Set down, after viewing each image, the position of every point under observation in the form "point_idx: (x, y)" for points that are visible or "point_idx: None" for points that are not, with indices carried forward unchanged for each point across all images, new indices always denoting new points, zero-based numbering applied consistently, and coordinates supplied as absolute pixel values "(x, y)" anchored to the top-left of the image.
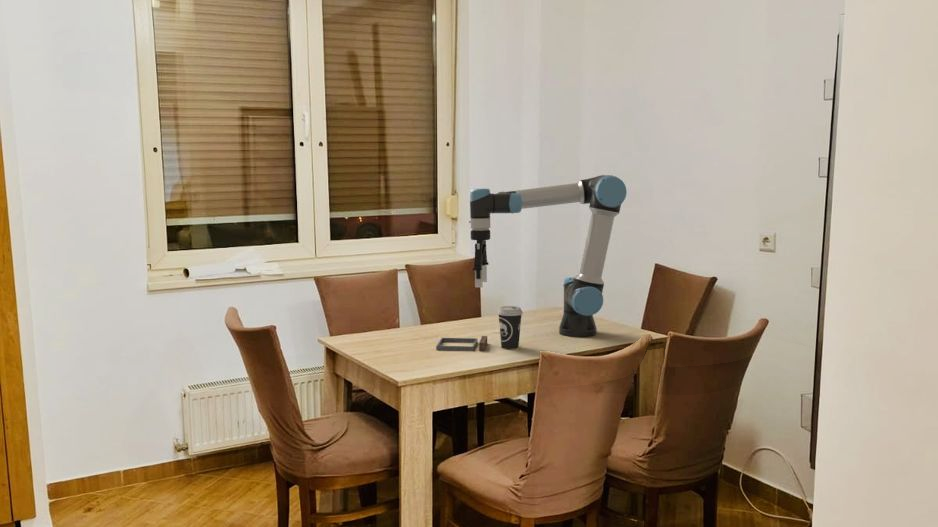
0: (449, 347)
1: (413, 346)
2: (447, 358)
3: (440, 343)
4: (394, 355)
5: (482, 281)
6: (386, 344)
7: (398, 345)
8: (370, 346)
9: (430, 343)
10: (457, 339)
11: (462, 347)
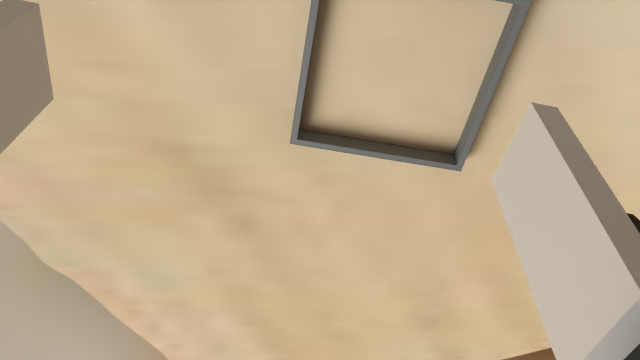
0: (481, 115)
1: (375, 233)
2: (634, 123)
3: (372, 146)
4: (505, 284)
5: (42, 66)
6: (330, 303)
7: (351, 273)
8: (355, 337)
9: (327, 177)
10: (307, 70)
11: (506, 56)
